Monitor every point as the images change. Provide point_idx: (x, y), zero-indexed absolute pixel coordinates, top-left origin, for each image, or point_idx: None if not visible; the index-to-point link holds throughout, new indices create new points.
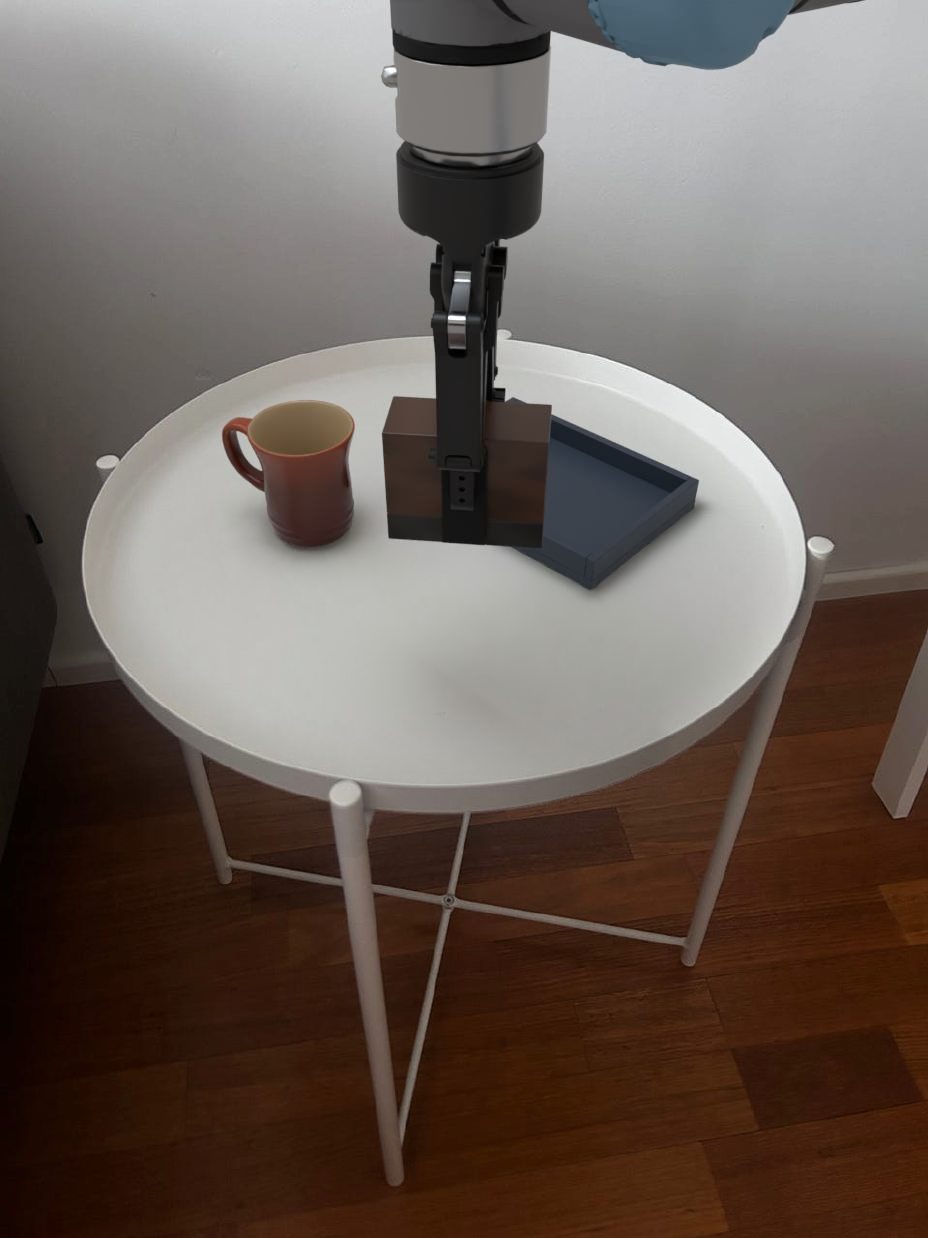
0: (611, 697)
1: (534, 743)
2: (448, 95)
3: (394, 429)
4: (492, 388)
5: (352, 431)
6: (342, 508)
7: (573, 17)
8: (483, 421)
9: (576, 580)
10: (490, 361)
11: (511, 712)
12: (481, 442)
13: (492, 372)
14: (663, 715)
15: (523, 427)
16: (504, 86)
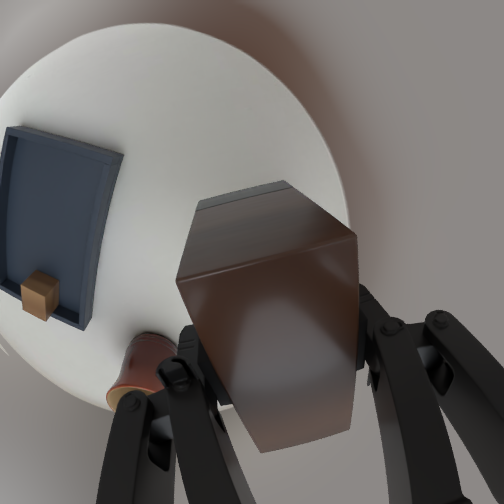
0: (234, 104)
1: (295, 146)
2: None
3: (342, 426)
4: (200, 399)
5: (125, 386)
6: (152, 349)
7: None
8: (425, 373)
9: (118, 169)
10: (225, 460)
11: (273, 168)
12: (451, 343)
13: (211, 433)
14: (240, 68)
15: (306, 305)
16: None
